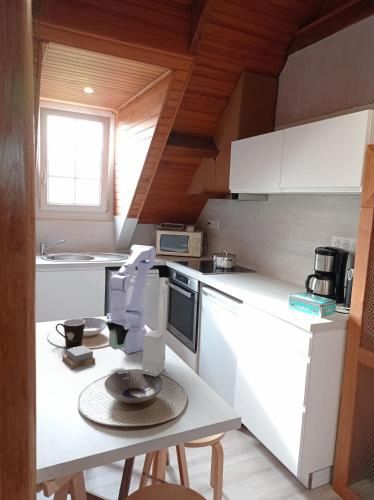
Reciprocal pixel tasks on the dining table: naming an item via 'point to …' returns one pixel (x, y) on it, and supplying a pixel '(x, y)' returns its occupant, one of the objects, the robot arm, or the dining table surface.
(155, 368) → the skincare box
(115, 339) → the green column
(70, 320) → the coffee mug
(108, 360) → the dining table surface
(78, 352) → the grey square slab
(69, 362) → the tan square slab
